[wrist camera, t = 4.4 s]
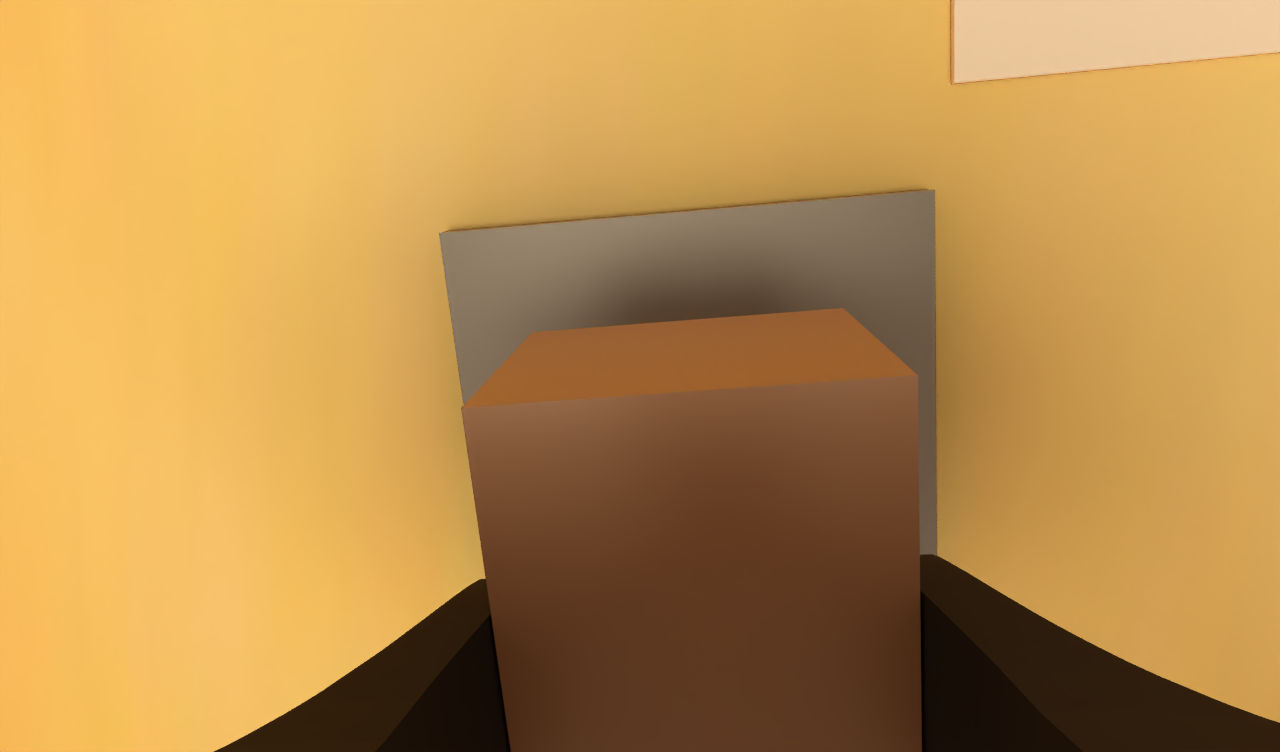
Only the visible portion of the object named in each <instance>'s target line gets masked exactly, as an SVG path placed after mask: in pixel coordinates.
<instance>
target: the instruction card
mask: <svg viewBox="0 0 1280 752" xmlns="http://www.w3.org/2000/svg"><path fill="white" fill-rule="evenodd" d="M1270 53H1280V0H951V84H957V83H968V82H978V81H988V80H999V79H1009V78H1020V77H1030V76H1041V75H1051V74H1061V73H1072V72H1082V71H1093V70H1103V69H1114V68H1124V67H1134V66H1145V65H1155V64H1166V63H1176V62H1186V61H1197V60H1207V59H1218V58H1228V57H1239V56H1249V55H1259V54H1270Z"/></svg>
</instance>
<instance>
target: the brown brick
mask: <svg viewBox="0 0 1280 752" xmlns="http://www.w3.org/2000/svg"><path fill="white" fill-rule="evenodd" d="M461 409H462V416H463V423H464V430H465V437H466V444H467V451H468V458H469V465H470V472H471V479H472V486H473V493H474V500H475V506H476V513H477V520H478V527H479V534H480V541H481V548H482V555H483V562H484V569H485V576H486V583H487V590H488V597H489V604H490V611H491V618H492V625H493V631H494V638H495V645H496V652H497V659H498V666H499V673H500V680H501V687H502V694H503V701H504V708H505V715H506V722H507V729H508V736H509V743H510V749H511V752H922V714H921V619H920V524H919V429H918V375H917V374H916V373H915V372H914V371H913V370H912V369H910V368H909V367H908V366H907V365H906V364H905V363H904V362H903V361H902V360H900V359H899V358H898V357H897V356H896V355H895V354H894V353H893V352H892V351H890V350H889V349H888V348H887V347H886V346H885V345H884V344H883V343H881V342H880V341H879V340H878V339H877V338H876V337H875V336H874V335H873V334H871V333H870V332H869V331H868V330H867V329H866V328H865V327H864V326H863V325H861V324H860V323H859V322H858V321H857V320H856V319H855V318H854V317H853V316H851V315H850V314H849V313H848V312H847V311H846V310H845V309H844V308H837V309H824V310H811V311H799V312H786V313H773V314H760V315H747V316H734V317H721V318H708V319H696V320H683V321H670V322H657V323H644V324H631V325H618V326H605V327H593V328H580V329H567V330H554V331H541V332H532V333H531V334H530V335H529V336H528V337H527V338H526V339H525V340H524V342H523V343H522V344H521V345H520V346H519V347H518V348H517V349H516V350H515V351H514V352H513V353H512V354H511V355H510V356H509V358H508V359H507V360H506V361H505V362H504V363H503V364H502V365H501V366H500V367H499V368H498V369H497V370H496V371H495V372H494V373H493V375H492V376H491V377H490V378H489V379H488V380H487V381H486V382H485V383H484V384H483V385H482V386H481V387H480V388H479V389H478V391H477V392H476V393H475V394H474V395H473V396H472V397H471V398H470V399H469V400H468V401H467V402H466V403H465V404H464V405H463V407H462V408H461Z"/></svg>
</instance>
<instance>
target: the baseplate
mask: <svg viewBox="0 0 1280 752" xmlns="http://www.w3.org/2000/svg"><path fill="white" fill-rule="evenodd" d="M439 236H440V243H441V250H442V257H443V264H444V271H445V278H446V285H447V292H448V299H449V306H450V313H451V320H452V327H453V334H454V341H455V348H456V355H457V362H458V369H459V376H460V383H461V390H462V397H463V404H465V403H466V402H467V401H468V400H469V399H470V398H471V397H472V396H473V395H474V394H475V393H476V392H477V391H478V389H479V388H480V387H481V386H482V385H483V384H484V383H485V382H486V381H487V380H488V379H489V378H490V377H491V376H492V375H493V373H494V372H495V371H496V370H497V369H498V368H499V367H500V366H501V365H502V364H503V363H504V362H505V361H506V360H507V359H508V358H509V356H510V355H511V354H512V353H513V352H514V351H515V350H516V349H517V348H518V347H519V346H520V345H521V344H522V343H523V342H524V340H525V339H526V338H527V337H528V336H529V335H530V334H531V333H532V332H541V331H554V330H567V329H580V328H593V327H605V326H618V325H631V324H644V323H657V322H670V321H683V320H696V319H708V318H721V317H734V316H747V315H760V314H773V313H786V312H799V311H811V310H824V309H837V308H844V309H845V310H846V311H847V312H848V313H849V314H850V315H851V316H853V317H854V318H855V319H856V320H857V321H858V322H859V323H860V324H861V325H863V326H864V327H865V328H866V329H867V330H868V331H869V332H870V333H871V334H873V335H874V336H875V337H876V338H877V339H878V340H879V341H880V342H881V343H883V344H884V345H885V346H886V347H887V348H888V349H889V350H890V351H892V352H893V353H894V354H895V355H896V356H897V357H898V358H899V359H900V360H902V361H903V362H904V363H905V364H906V365H907V366H908V367H909V368H910V369H912V370H913V371H914V372H915V373H916V374H917V375H918V429H919V524H920V555H923V554H934V555H936V556H937V495H936V314H935V190H928V189H925V190H913V191H902V192H890V193H879V194H867V195H856V196H844V197H833V198H821V199H810V200H798V201H787V202H775V203H764V204H753V205H741V206H730V207H718V208H707V209H695V210H684V211H672V212H661V213H649V214H638V215H626V216H615V217H603V218H592V219H580V220H569V221H557V222H546V223H535V224H523V225H512V226H500V227H489V228H477V229H466V230H454V231H446V232H442V233H439Z"/></svg>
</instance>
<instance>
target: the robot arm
mask: <svg viewBox="0 0 1280 752" xmlns="http://www.w3.org/2000/svg"><path fill="white" fill-rule="evenodd" d="M920 619H921V714H922V752H1280V723H1278V722H1275V721H1272V720H1269V719H1266V718H1263V717H1260V716H1257V715H1255V714H1252V713H1249V712H1247V711H1244V710H1241V709H1239V708H1236V707H1233V706H1231V705H1228V704H1225V703H1223V702H1220V701H1217V700H1215V699H1213V698H1210V697H1208V696H1205V695H1203V694H1201V693H1198V692H1196V691H1193V690H1191V689H1189V688H1186V687H1184V686H1182V685H1179V684H1177V683H1174V682H1172V681H1170V680H1167V679H1165V678H1162V677H1160V676H1158V675H1155V674H1153V673H1151V672H1149V671H1147V670H1144V669H1142V668H1140V667H1138V666H1136V665H1133V664H1131V663H1129V662H1127V661H1125V660H1123V659H1121V658H1119V657H1117V656H1115V655H1113V654H1111V653H1109V652H1107V651H1105V650H1103V649H1101V648H1099V647H1097V646H1095V645H1093V644H1091V643H1089V642H1087V641H1085V640H1083V639H1081V638H1079V637H1077V636H1076V635H1074V634H1072V633H1070V632H1068V631H1066V630H1065V629H1063V628H1061V627H1059V626H1057V625H1055V624H1054V623H1052V622H1050V621H1048V620H1046V619H1045V618H1043V617H1041V616H1039V615H1038V614H1036V613H1034V612H1032V611H1031V610H1029V609H1027V608H1025V607H1024V606H1022V605H1020V604H1019V603H1017V602H1015V601H1013V600H1012V599H1010V598H1008V597H1007V596H1005V595H1003V594H1002V593H1000V592H998V591H997V590H995V589H993V588H992V587H990V586H988V585H987V584H985V583H983V582H982V581H980V580H978V579H977V578H975V577H973V576H972V575H970V574H969V573H967V572H965V571H963V570H962V569H960V568H958V567H957V566H955V565H953V564H951V563H950V562H948V561H946V560H944V559H942V558H940V557H938V556H936V555H934V554H923V555H920ZM214 752H511V749H510V743H509V736H508V729H507V722H506V715H505V708H504V701H503V694H502V687H501V680H500V673H499V666H498V659H497V652H496V645H495V638H494V631H493V625H492V618H491V611H490V604H489V597H488V590H487V583H486V579H480V580H478V581H476V582H475V583H473V584H471V585H470V586H468V587H467V588H465V589H464V590H462V591H461V592H460V593H458V594H457V595H455V596H454V597H453V598H451V599H450V600H449V601H447V602H446V603H445V604H443V605H442V606H441V607H439V608H438V609H437V610H435V611H434V612H433V613H431V614H430V615H429V616H428V617H426V618H425V619H424V620H422V621H421V622H420V623H418V624H417V625H416V626H414V627H413V628H412V629H410V630H409V631H407V632H406V633H405V634H403V635H402V636H401V637H399V638H398V639H397V640H395V641H394V642H393V643H391V644H390V645H389V646H387V647H386V648H385V649H383V650H382V651H380V652H379V653H377V654H376V655H375V656H373V657H372V658H370V659H369V660H367V661H366V662H364V663H363V664H361V665H360V666H358V667H357V668H355V669H354V670H353V671H351V672H350V673H348V674H347V675H345V676H344V677H342V678H341V679H339V680H338V681H336V682H335V683H333V684H332V685H330V686H329V687H328V688H326V689H325V690H323V691H322V692H320V693H318V694H317V695H315V696H314V697H312V698H310V699H309V700H307V701H306V702H304V703H302V704H301V705H299V706H297V707H296V708H294V709H292V710H291V711H289V712H287V713H286V714H284V715H282V716H280V717H278V718H277V719H275V720H273V721H271V722H269V723H268V724H266V725H264V726H262V727H260V728H259V729H257V730H255V731H253V732H251V733H250V734H248V735H246V736H244V737H242V738H240V739H238V740H237V741H235V742H233V743H231V744H229V745H227V746H225V747H223V748H221V749H218V750H216V751H214Z"/></svg>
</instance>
